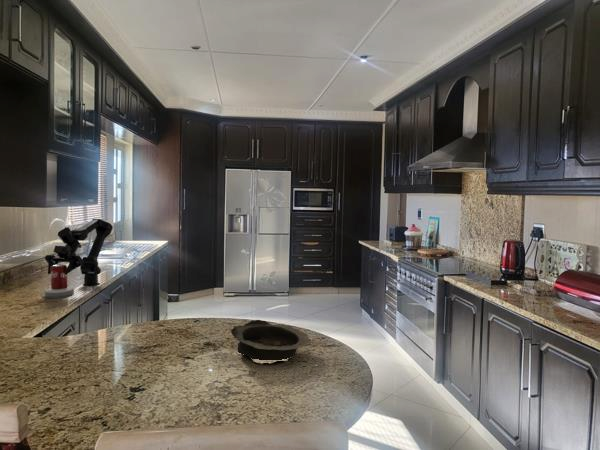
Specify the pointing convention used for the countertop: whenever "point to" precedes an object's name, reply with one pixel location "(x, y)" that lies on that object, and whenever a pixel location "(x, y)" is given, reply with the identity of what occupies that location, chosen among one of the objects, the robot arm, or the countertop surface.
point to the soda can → (58, 277)
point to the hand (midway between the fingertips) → (56, 273)
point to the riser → (59, 293)
